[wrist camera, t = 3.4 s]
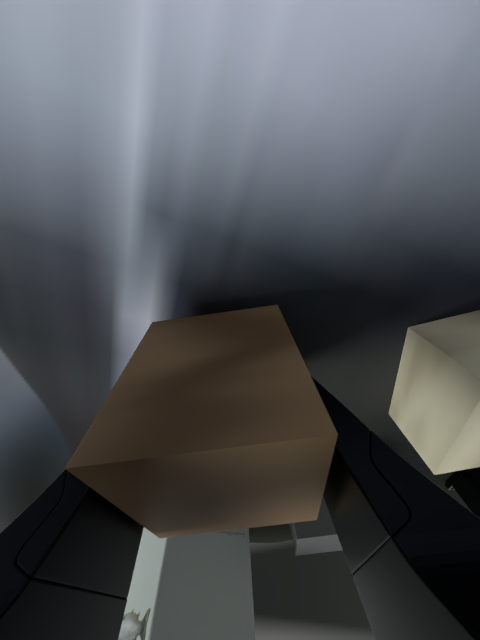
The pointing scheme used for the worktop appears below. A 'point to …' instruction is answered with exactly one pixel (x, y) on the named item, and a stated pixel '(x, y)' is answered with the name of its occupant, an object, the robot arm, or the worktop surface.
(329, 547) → the gray cube
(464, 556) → the robot arm
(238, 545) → the supplement box
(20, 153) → the worktop surface
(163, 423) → the walnut cube
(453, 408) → the birch block
